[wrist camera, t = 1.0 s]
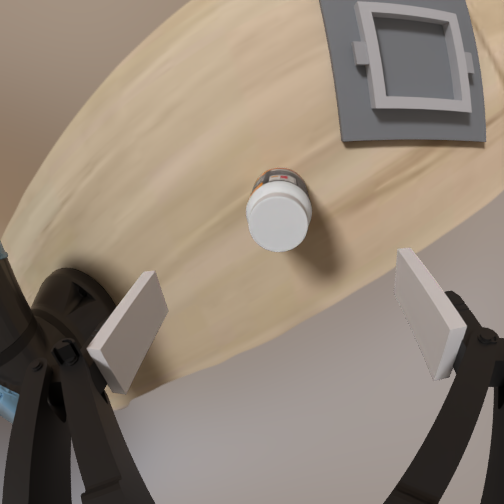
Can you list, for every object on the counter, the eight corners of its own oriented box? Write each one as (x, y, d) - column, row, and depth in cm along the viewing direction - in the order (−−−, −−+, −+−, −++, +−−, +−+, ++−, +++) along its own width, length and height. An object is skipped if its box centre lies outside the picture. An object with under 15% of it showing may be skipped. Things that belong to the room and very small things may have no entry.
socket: (341, 140, 29) (346, 143, 27) (315, -16, 22) (317, -26, 19) (481, 140, 27) (494, 144, 24) (460, 0, 19) (471, -5, 17)
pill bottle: (253, 165, 32) (239, 188, 23) (308, 167, 31) (317, 190, 22) (253, 216, 34) (241, 256, 25) (306, 218, 34) (312, 259, 25)
